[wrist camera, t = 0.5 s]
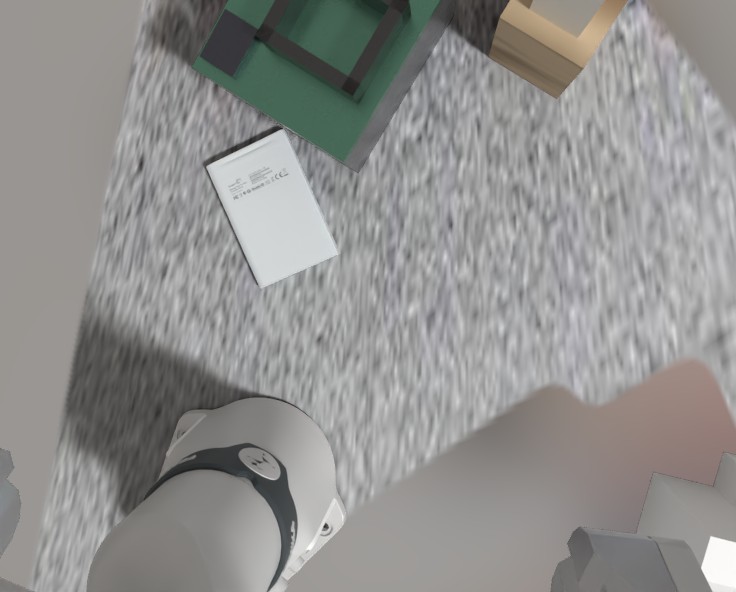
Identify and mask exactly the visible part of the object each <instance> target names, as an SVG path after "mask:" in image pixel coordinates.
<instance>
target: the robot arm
mask: <svg viewBox="0 0 736 592" xmlns="http://www.w3.org/2000/svg"><path fill="white" fill-rule="evenodd" d="M13 469H14V465H13V461H12V457H11V453H10V451H8V450H5V449H1V448H0V558H1V556H2V555H3V553H4V552H5V550H6V548H7V547H8V545H9V544H10V542H11V540H12V538H13V535H14V533H15V530H16V527H17V524H18V522H19V519H20V508H21V500H20V495H19V490H18V489H17V488H16V487H15V486H14V485H12V483H10V482H9V481H8V480H7V478H8V476H9V475H10V473H11V472H12V471H13ZM345 520H346V511H345V508H344V505H343V503H342V501H341V498H340V496H339V494H338V492H337V489H336V479H335V463H334V458H333V454H332V451H331V448H330V446H329V443H328V441H327V439H326V437H325V436H324V434H323V432H322V431H321V430H320V428H319V427H318V426H317V425H316V423H315V422H314V421H313V420H312V419H311V418H310V417H308V416H307V415H306V414H305V413H303V412H302V411H300V410H299V409H297V408H296V407H294V406H292V405H290V404H287V403H285V402H282V401H279V400H275V399H270V398H247V399H242V400H238V401H235V402H232V403H230V404H228V405H225V406H223V407H221V408H218V409H214V410H190V411H187V412H186V413H184V414H183V415H182V417H181V418H180V419H179V421H178V423H177V426H176V429H175V432H174V435H173V438H172V441H171V444H170V447H169V449H168V451H167V453H166V458H165V461H164V464H163V467H162V470H161V473H160V475H159V478H158V479H157V481H156V482H155V483H154V485H153V487H152V488H151V489H150V490H149V492H148V493H147V495H146V496H145V498H144V500H143V502H142V503H141V504H140V505H139V506H138V507H137V508H135V509H134V510H133V511H132V512H131V513H130V514H129V515H128V516H127V517H125V518H124V519H123V520H122V521H121V522H120V523H119V524H118V525H117V526H116V527H114V529H113V530H112V531H111V532H110V533H109V534H108V535H107V536H106V537H105V539H104V540H103V542H102V543H101V545H100V547H99V548H98V550H97V552H96V554H95V556H94V558H93V561H92V564H91V567H90V570H89V574H88V580H87V592H284V591H285V589H286V588H287V586H288V581H287V580H288V579H289V578H290V577H291V576H292V575H294V574H295V573H297V572H298V571H299V570H300V568H301V567H302V566H303V565H304V564H305V563H306V562H307V561H308V560H309V559H310V558H311V557H312V556H313V555H314V554H315V553H316V552H317V551H318V550H319V549H320V548H321V547H322V546H323V545H324V544H325V543H326V542H327V541H328V540H329V539H330V538H331V537H332V536H333V535H334V534H335V533H336V532H337V531H338V530H339V529H340V528H341V527H342V526H343V524H344V522H345ZM325 523H327V524H328V526H329V527H327V528H325V527H323V526H324V524H325ZM567 544H568V547H569V551H570V554H571V556H570V557H568V558H566V559H565V560H563V561H561V562H559V563H558V565H557V567H556V570H555V572H554V575H553V577H552V584H551V592H712V589H711V587H710V585H709V583H708V581H707V579H706V577H705V575H704V573H703V571H702V569H701V567H700V565H699V563H698V561H697V559H696V557H695V555H694V553H693V551H692V549H691V547H690V546H689V545H688V544H687V543H686V542H685V541H684V540H678V539H670V538H663V537H655V536H645V535H643V534H635V533H626V532H619V531H611V530H603V529H594V528H587V527H578V528H577V529H576V530H575V531H573V533H572V535H571V537H570V539H569V541H568V543H567ZM0 592H34V591H32V590H29V589H27V588H25V587H22V586H20V585H17V584H15V583H13V582H11V581H8V580H6V579H4V578H1V577H0Z"/></svg>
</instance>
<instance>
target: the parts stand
mask: <svg viewBox="0 0 736 592" xmlns="http://www.w3.org/2000/svg"><path fill="white" fill-rule="evenodd" d="M532 1H533V0H510V1H509V3H508V5H507V6H506V8H505V9H504V11H503V13H502V14H501V16H500V18H499V21H498V25H497V28H496V32H495V35H494V39H493V42H492V46H491V50H490V53H489V58H491V59H493V60H494V61H496V62H497V63H499V64H501V65H502V66H504V67H506V68H507V69H509V70H511V71H512V72H514V73H515V74H517V75H519V76H520V77H522V78H524V79H525V80H527V81H529V82H530V83H532V84H533V85H535V86H537V87H538V88H540V89H542V90H543V91H545V92H547V93H548V94H550V95H551V96H553V97H555V98H556V99H557V98H558V97H559V96H560V95H561V94H562V92H563V91H564V90H565V89H566V88H567V87H568V86H569V85H570V83H571V82H572V81H573V80H574V79H575V78H576V77H577V75H578V74H579V73H580V72H581V71H582V70H583V69H584V67H585V66H586V64H587V62H588V61H589V59H590V58H591V56H592V55H593V53H594V52H595V50H596V49H597V47H598V45H599V44H600V42H601V41H602V39H603V38H604V36H605V35H606V33H607V32H608V30H609V28H610V27H611V25H612V24H613V22H614V21H615V19H616V18H617V16H618V15H619V13H620V12H621V10H622V8H623V7H624V5H625V4H626V2H627V1H628V0H605V1H604V2H603V4H602V5H601V6H600V8H599V9H598V11H597V12H596V13H595V15H594V16H593V18H592V19H591V21H590V22H589V23H588V25H587V26H586V28H585V29H584V30H583V32H582V33H581V35H580V36H579V37H578V38H576V37H574V36H573V35H571V34H569V33H568V32H566V31H564V30H563V29H561V28H559V27H558V26H556V25H554V24H553V23H551V22H549V21H548V20H546V19H545V18H543V17H541V16H540V15H538V14H536V13H535V12H533V11H531V10H530V6H531V4H532Z"/></svg>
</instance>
